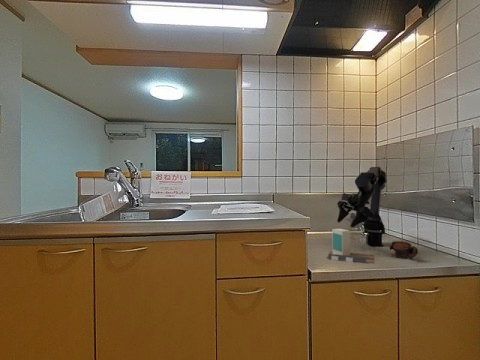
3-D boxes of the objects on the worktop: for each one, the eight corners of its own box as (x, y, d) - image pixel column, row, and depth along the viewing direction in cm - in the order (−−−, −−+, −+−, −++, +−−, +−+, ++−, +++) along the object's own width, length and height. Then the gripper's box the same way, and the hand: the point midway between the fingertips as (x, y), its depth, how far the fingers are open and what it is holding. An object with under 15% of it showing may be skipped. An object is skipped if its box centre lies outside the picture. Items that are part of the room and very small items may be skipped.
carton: (339, 253, 125) (339, 228, 125) (349, 256, 120) (349, 230, 120) (332, 254, 123) (332, 229, 123) (342, 257, 118) (342, 231, 118)
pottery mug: (383, 259, 120) (384, 240, 124) (397, 266, 124) (398, 248, 127) (412, 258, 110) (412, 238, 114) (426, 266, 114) (426, 246, 117)
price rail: (328, 261, 117) (328, 253, 117) (365, 264, 111) (365, 257, 111) (328, 261, 116) (328, 254, 116) (365, 265, 110) (365, 258, 110)
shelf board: (330, 253, 129) (330, 251, 129) (373, 257, 121) (373, 255, 121) (326, 260, 117) (326, 258, 117) (374, 265, 110) (374, 263, 110)
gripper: (338, 184, 136) (320, 210, 134) (366, 188, 118) (346, 219, 116) (353, 197, 139) (336, 223, 137) (383, 203, 121) (363, 233, 120)
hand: (344, 224), depth 128 cm, fingers open, 9 cm apart
